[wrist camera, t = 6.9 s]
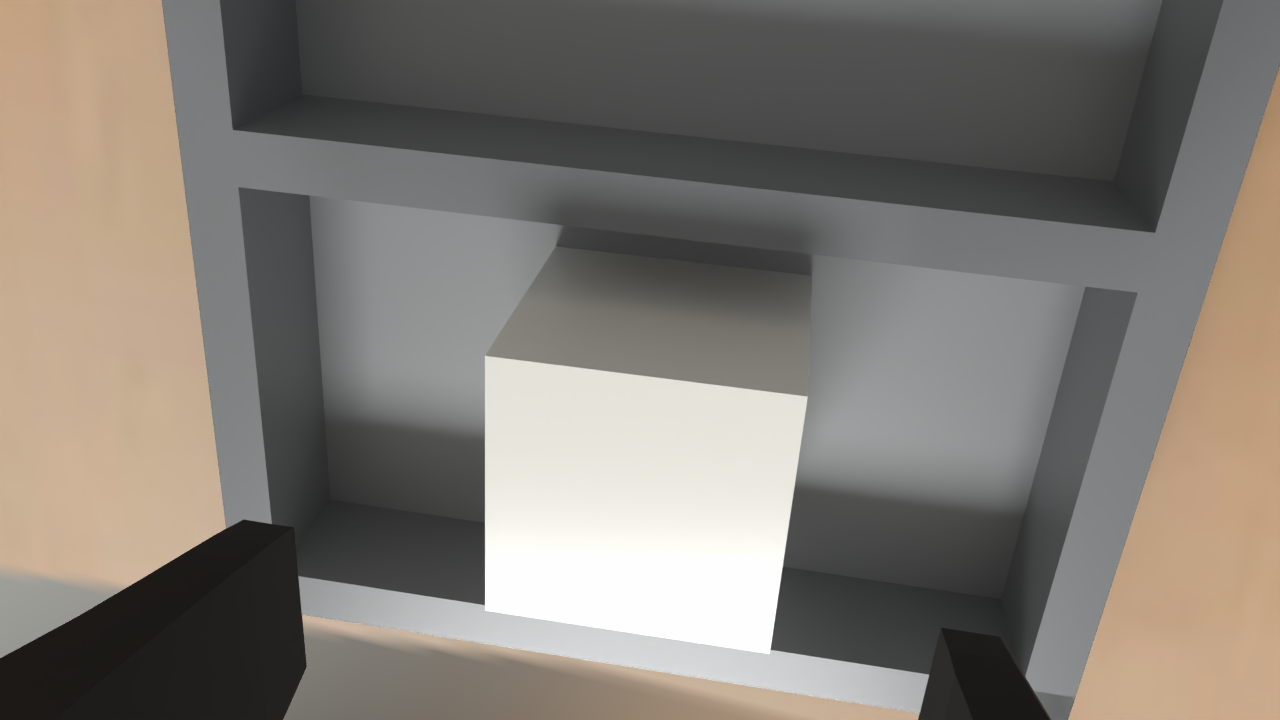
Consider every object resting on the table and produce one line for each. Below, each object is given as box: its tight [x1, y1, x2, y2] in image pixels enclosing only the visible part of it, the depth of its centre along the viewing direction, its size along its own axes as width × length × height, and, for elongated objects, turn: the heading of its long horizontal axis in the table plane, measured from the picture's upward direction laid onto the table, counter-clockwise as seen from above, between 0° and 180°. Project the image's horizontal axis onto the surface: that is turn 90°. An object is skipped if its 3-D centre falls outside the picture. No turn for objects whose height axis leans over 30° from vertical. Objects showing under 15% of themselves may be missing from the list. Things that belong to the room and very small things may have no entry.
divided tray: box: [162, 0, 1280, 720], centre depth 16 cm, size 14×16×3 cm
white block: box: [485, 246, 812, 654], centre depth 16 cm, size 4×4×4 cm
